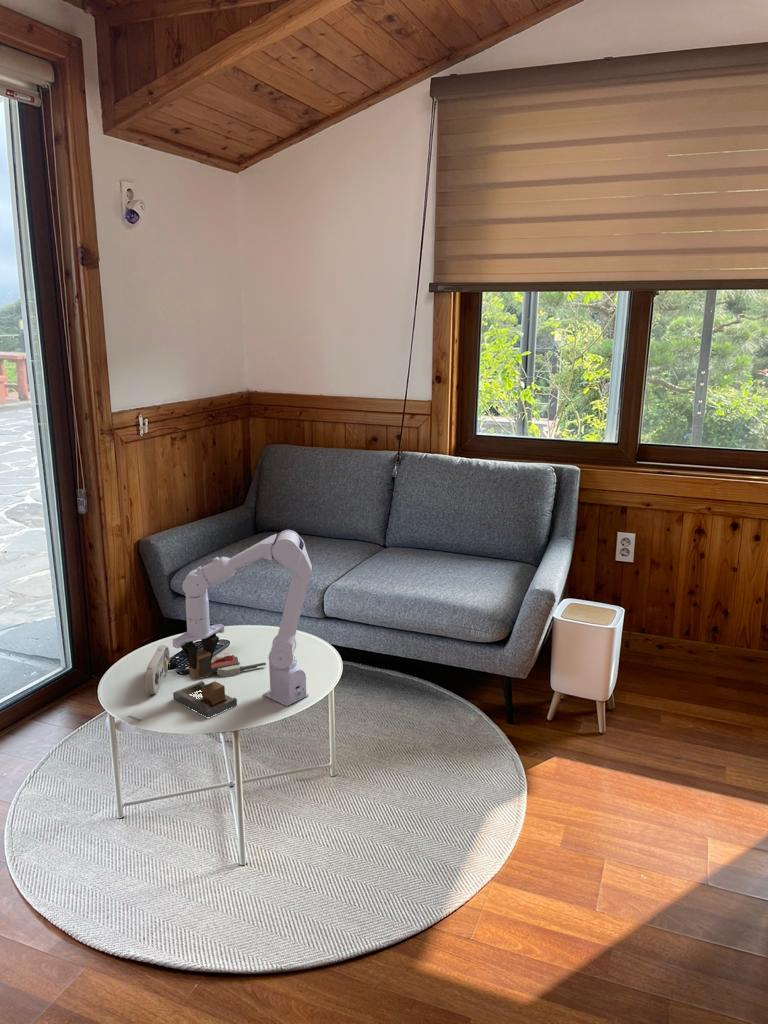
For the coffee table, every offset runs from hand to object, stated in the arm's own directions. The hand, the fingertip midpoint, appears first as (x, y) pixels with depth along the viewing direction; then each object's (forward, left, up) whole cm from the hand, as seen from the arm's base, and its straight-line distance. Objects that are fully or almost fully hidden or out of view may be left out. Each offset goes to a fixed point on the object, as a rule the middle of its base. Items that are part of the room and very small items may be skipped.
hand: (200, 665), depth 201 cm
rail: (-4, +2, -9) cm, 10 cm away
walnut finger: (0, 0, -3) cm, 3 cm away
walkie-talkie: (+8, -14, -9) cm, 19 cm away
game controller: (+15, +3, -9) cm, 18 cm away
